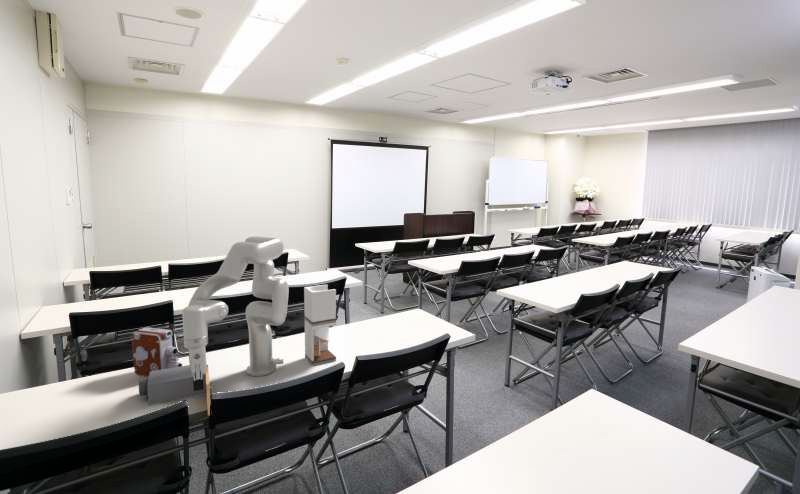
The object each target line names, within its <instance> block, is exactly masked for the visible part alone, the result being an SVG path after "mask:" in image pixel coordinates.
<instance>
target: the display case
mask: <svg viewBox="0 0 800 494" xmlns="http://www.w3.org/2000/svg"><path fill="white" fill-rule="evenodd" d="M328 287H329V284H320V285H312V286H304V288H303V292H304V293H303V298H304V301H303V302H304V306H303V307H304V358H305V359H306V360H307V361H308V362H309V364H310V365H311V367H315V366H321V365H324V364H328V363H333V362H336V361H337V357H336V355H334V354H333V352H331V351H330V350H329V342H330V327H334V326H336V325H337V289H335V288H333V289H329V288H328Z"/></svg>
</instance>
